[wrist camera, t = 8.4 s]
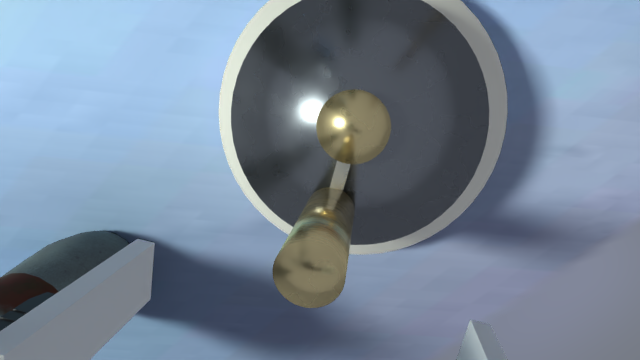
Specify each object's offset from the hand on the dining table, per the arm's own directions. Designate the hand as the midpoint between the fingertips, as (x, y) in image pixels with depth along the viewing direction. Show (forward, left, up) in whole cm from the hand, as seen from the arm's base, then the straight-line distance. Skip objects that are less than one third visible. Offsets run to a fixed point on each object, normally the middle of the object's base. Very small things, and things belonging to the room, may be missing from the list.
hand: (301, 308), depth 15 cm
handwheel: (-6, 0, -15) cm, 16 cm away
